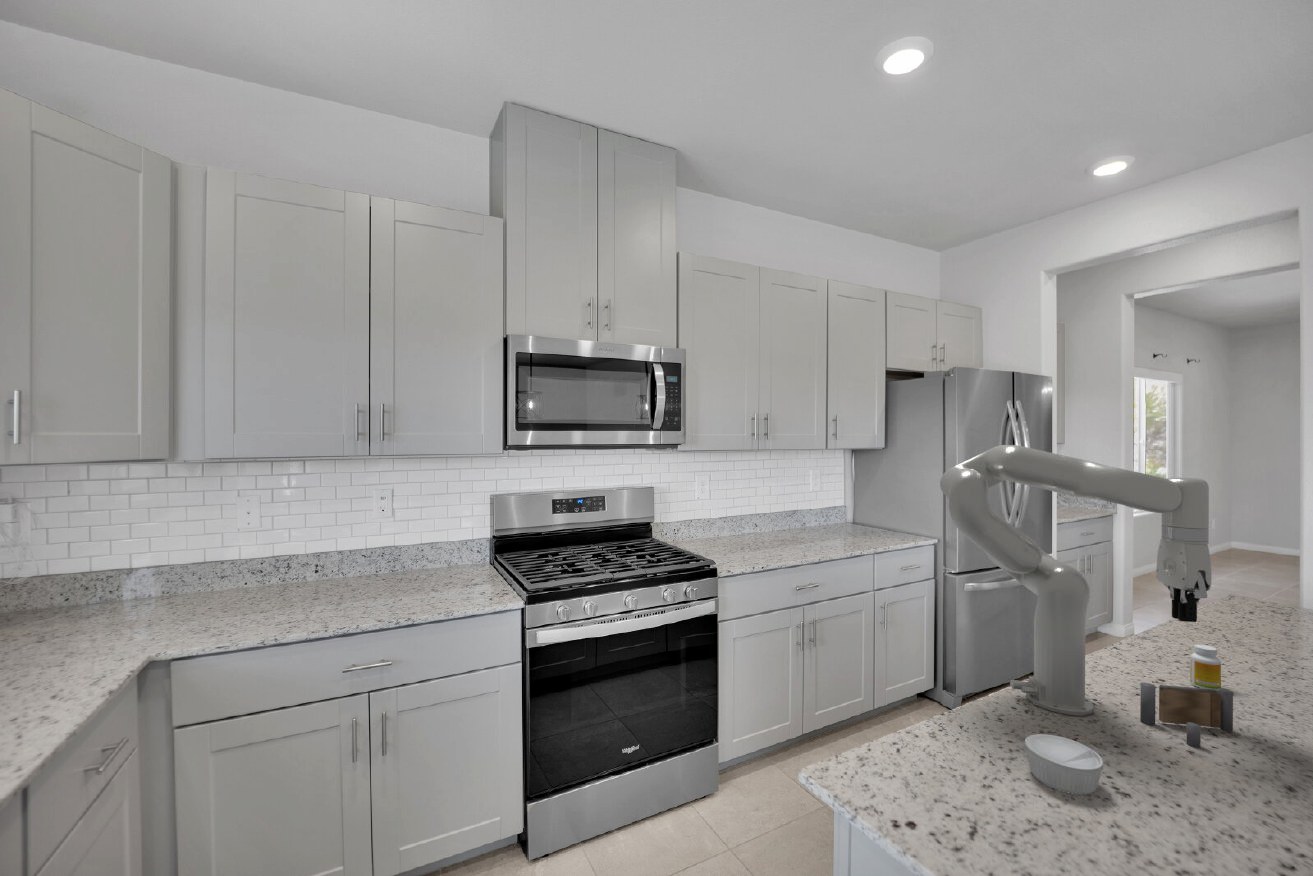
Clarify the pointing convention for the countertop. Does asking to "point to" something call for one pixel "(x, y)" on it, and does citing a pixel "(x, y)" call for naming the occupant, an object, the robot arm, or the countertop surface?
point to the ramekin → (1063, 763)
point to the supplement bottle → (1205, 668)
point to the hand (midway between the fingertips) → (1184, 619)
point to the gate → (1190, 706)
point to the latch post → (1226, 710)
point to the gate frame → (1149, 714)
